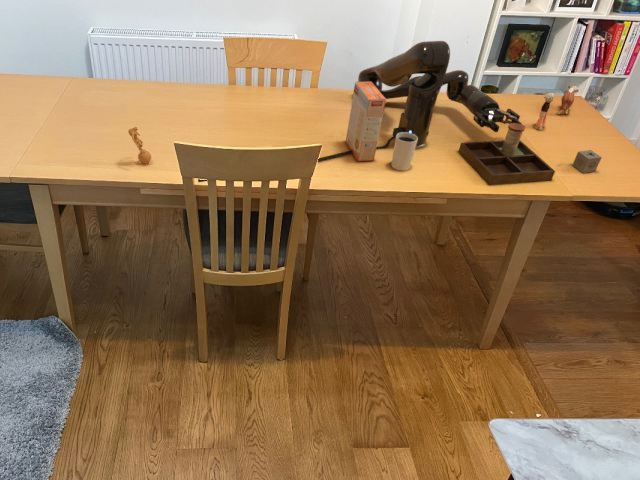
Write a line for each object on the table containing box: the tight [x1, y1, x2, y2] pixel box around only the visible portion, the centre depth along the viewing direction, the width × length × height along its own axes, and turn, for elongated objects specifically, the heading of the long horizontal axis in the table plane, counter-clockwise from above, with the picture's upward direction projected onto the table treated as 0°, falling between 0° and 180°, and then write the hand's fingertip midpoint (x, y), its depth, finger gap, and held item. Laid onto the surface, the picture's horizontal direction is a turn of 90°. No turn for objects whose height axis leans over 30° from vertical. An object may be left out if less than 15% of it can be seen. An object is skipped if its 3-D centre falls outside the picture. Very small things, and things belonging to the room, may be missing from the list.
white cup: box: [391, 132, 418, 171], centre depth 183 cm, size 7×7×10 cm
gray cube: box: [572, 149, 602, 174], centre depth 189 cm, size 5×5×5 cm
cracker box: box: [345, 81, 387, 162], centre depth 186 cm, size 14×6×21 cm, turn 9°
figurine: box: [128, 126, 152, 164], centre depth 178 cm, size 8×6×12 cm
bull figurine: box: [557, 85, 579, 115], centre depth 222 cm, size 4×13×8 cm, turn 148°
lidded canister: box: [501, 123, 526, 156], centre depth 190 cm, size 5×5×10 cm
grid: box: [458, 139, 556, 186], centre depth 188 cm, size 21×21×3 cm
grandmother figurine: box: [534, 92, 555, 131], centre depth 209 cm, size 8×4×13 cm, turn 168°
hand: (508, 128), depth 190 cm, fingers open, 8 cm apart
